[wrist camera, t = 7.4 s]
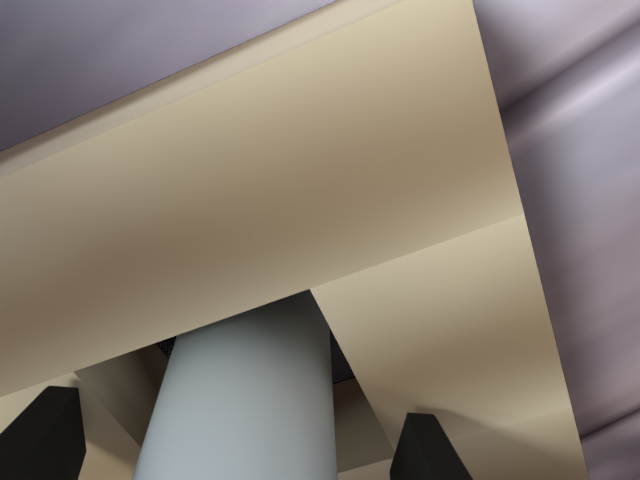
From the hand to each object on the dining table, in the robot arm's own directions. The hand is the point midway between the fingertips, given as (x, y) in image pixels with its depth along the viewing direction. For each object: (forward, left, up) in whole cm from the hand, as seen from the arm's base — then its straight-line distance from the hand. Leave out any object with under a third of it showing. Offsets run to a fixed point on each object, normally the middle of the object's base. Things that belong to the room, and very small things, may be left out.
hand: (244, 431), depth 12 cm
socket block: (0, 0, -3) cm, 3 cm away
